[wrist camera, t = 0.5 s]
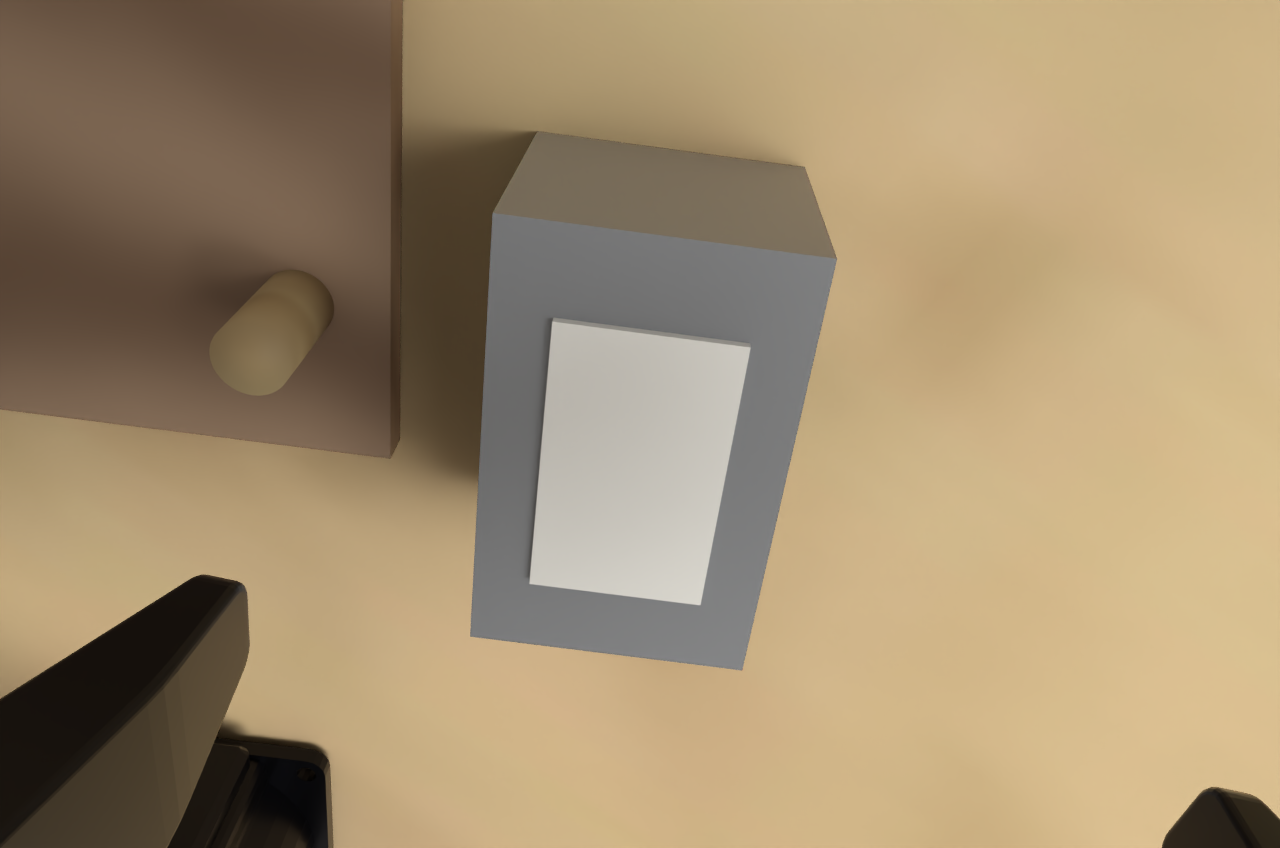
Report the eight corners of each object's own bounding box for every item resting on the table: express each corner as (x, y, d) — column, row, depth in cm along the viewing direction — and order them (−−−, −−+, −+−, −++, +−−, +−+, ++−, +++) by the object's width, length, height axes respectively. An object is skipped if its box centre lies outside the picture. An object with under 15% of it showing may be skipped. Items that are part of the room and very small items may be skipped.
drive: (732, 515, 23) (742, 675, 19) (512, 486, 23) (468, 642, 18) (804, 165, 19) (838, 261, 15) (538, 129, 19) (490, 216, 14)
